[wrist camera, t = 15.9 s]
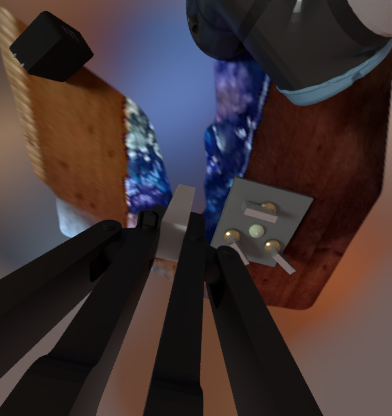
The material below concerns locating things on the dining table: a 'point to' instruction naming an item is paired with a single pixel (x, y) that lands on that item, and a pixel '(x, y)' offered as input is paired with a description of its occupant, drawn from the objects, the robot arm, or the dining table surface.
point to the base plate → (257, 228)
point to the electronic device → (51, 48)
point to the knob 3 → (278, 255)
